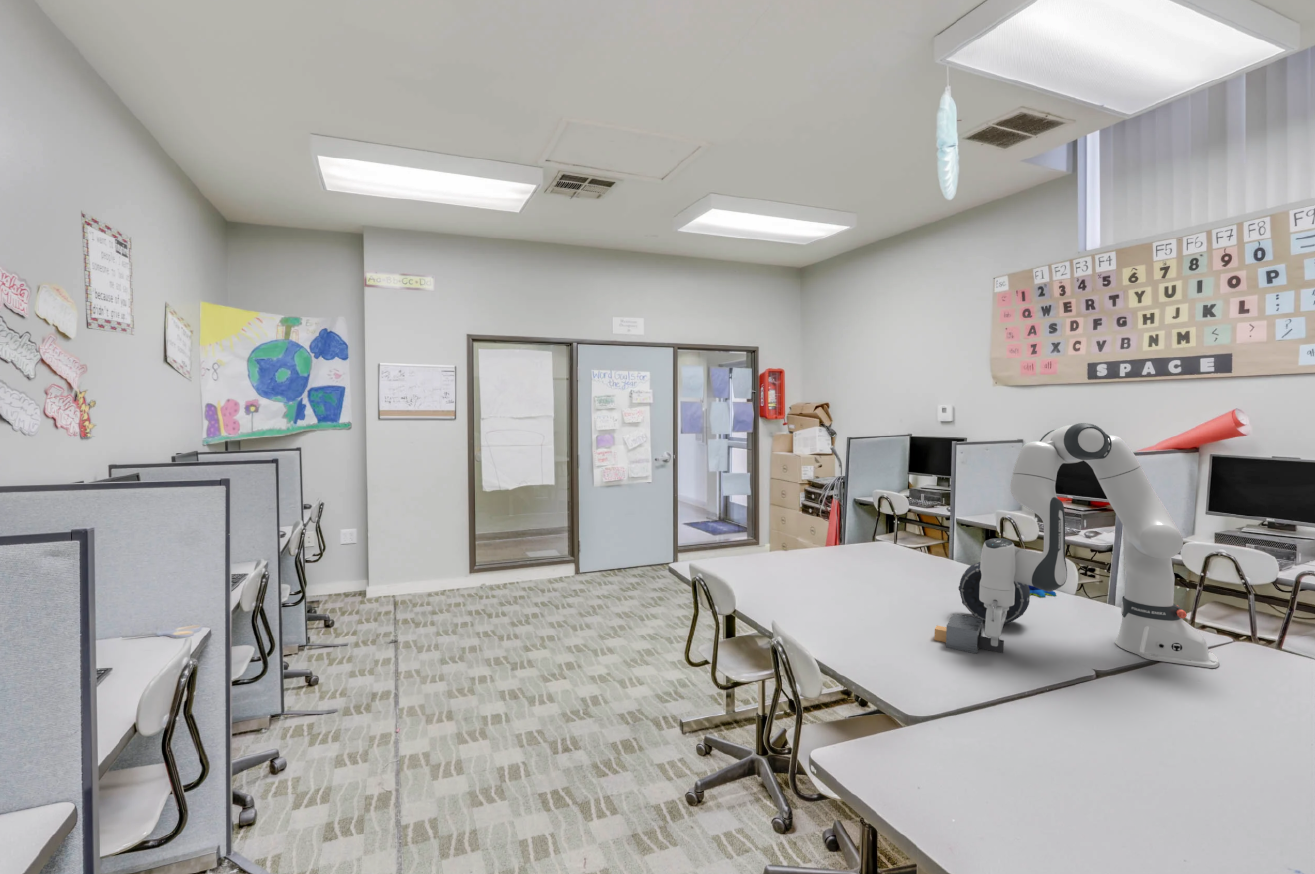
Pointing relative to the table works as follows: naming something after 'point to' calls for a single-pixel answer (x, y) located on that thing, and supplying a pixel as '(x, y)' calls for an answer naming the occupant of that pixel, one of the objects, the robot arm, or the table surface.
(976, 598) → the dotted bowl
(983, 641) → the plug
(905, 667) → the table surface
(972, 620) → the slotted block
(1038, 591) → the plush toy
